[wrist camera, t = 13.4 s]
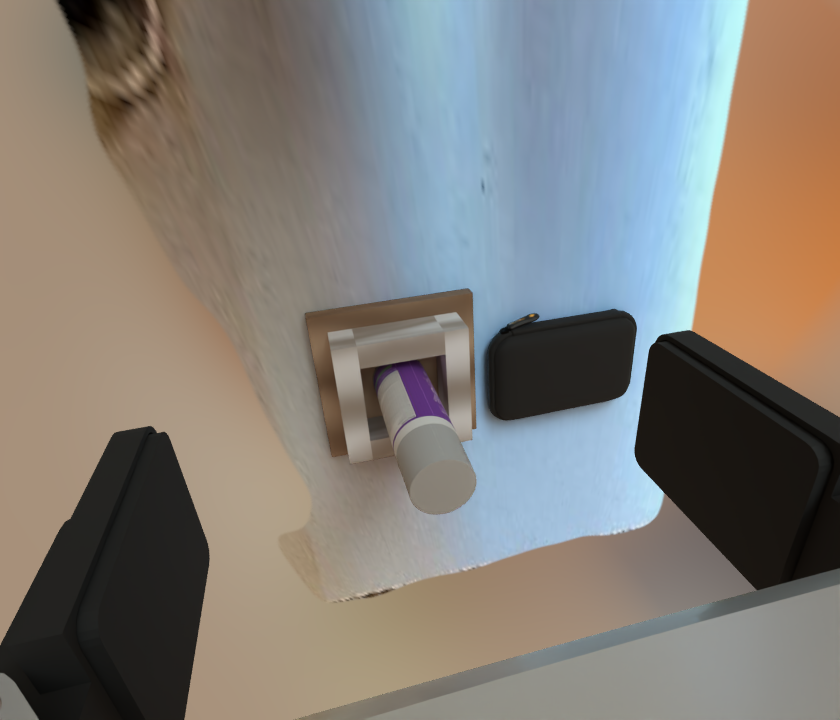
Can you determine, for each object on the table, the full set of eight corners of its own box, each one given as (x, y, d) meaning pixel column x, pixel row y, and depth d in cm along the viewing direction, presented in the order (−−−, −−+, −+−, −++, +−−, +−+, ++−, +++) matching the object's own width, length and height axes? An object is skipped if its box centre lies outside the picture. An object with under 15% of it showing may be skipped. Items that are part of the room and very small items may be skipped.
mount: (305, 313, 43) (307, 336, 39) (468, 288, 46) (486, 307, 42) (331, 449, 50) (335, 481, 46) (472, 422, 52) (488, 449, 48)
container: (434, 369, 47) (492, 476, 34) (403, 408, 48) (447, 525, 35) (394, 343, 45) (439, 446, 32) (361, 384, 46) (392, 499, 33)
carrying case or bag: (629, 291, 50) (481, 315, 48) (649, 302, 47) (493, 329, 45) (618, 387, 55) (484, 414, 53) (635, 402, 52) (494, 431, 50)
